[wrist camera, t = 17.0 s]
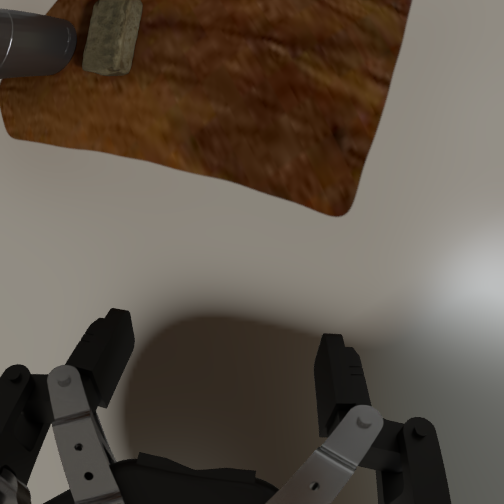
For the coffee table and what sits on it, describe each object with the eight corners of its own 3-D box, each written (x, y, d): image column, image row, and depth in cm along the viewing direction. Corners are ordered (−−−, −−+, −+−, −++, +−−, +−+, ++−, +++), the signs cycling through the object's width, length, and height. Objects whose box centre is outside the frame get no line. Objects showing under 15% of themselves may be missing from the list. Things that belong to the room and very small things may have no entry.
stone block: (147, -1, 31) (132, -10, 27) (133, 76, 37) (116, 75, 32) (110, 2, 31) (92, -5, 27) (97, 76, 36) (78, 76, 32)
